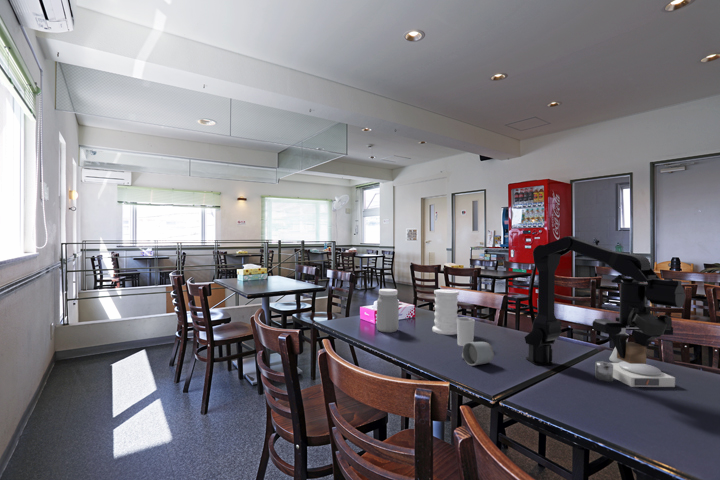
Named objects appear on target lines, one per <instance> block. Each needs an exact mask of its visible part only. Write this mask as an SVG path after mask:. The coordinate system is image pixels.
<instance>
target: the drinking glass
mask: <svg viewBox="0 0 720 480" xmlns="http://www.w3.org/2000/svg"><path fill="white" fill-rule="evenodd" d="M475 321H476V320H475V319H474V318H471V317H466V316H463V317H461V316H460V317H457V334H456V335H457V338H456V339H457V345H458V346H459V347H463V346H464V345H465V344H466V343H467V342H474V338H475V337H474V334H475Z"/></svg>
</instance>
